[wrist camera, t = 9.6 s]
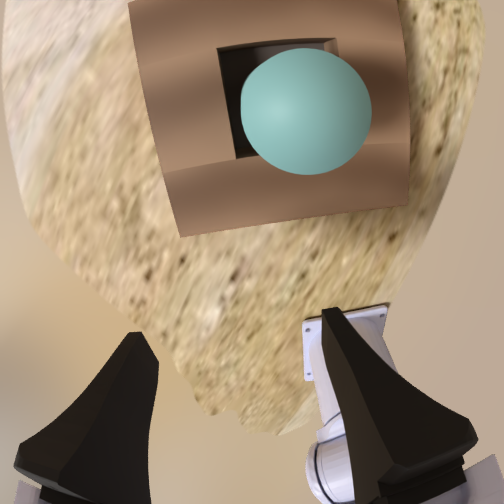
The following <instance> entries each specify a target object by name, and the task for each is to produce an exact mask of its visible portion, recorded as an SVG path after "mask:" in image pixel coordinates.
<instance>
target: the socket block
mask: <svg viewBox="0 0 504 504" xmlns="http://www.w3.org/2000/svg"><path fill="white" fill-rule="evenodd" d="M128 8H129V14H130V21H131V28H132V34H133V40H134V46H135V51H136V57H137V62H138V68H139V73H140V78H141V83H142V88H143V93H144V97H145V102H146V107H147V111H148V116H149V120H150V125H151V129H152V133H153V137H154V142H155V146H156V150H157V154H158V158H159V162H160V166H161V170H162V173H163V177H164V181H165V185H166V188H167V192H168V196H169V199H170V203H171V207H172V210H173V214H174V217H175V221H176V224H177V227H178V231H179V234H180V238H181V237H187V236H193V235H199V234H205V233H211V232H217V231H224V230H230V229H236V228H243V227H249V226H256V225H262V224H269V223H276V222H283V221H290V220H297V219H304V218H311V217H318V216H325V215H333V214H340V213H348V212H355V211H363V210H371V209H379V208H387V207H395V206H404V205H408V191H409V173H410V106H409V88H408V75H407V65H406V55H405V47H404V40H403V33H402V27H401V21H400V15H399V10H398V5H397V0H135V1H132V2H129V3H128ZM299 48H310V49H318V50H322V51H326V52H328V53H331V54H333V55H335V56H337V57H339V58H341V59H342V60H344V61H345V62H347V63H348V64H349V65H350V66H351V67H352V68H353V69H354V70H355V71H356V72H357V73H358V75H359V76H360V77H361V79H362V80H363V82H364V84H365V86H366V88H367V90H368V93H369V97H370V101H371V108H372V117H371V125H370V129H369V132H368V135H367V138H366V139H365V141H364V143H363V145H362V146H361V148H360V149H359V151H358V152H357V153H356V154H355V155H354V156H353V157H352V158H351V159H350V160H349V161H347V162H346V163H345V164H343V165H342V166H340V167H338V168H336V169H334V170H331V171H328V172H325V173H321V174H314V175H301V174H294V173H290V172H286V171H284V170H281V169H279V168H277V167H275V166H273V165H271V164H270V163H269V162H267V161H266V160H264V159H263V158H262V157H261V156H260V155H259V154H258V153H257V152H256V150H255V149H254V148H253V147H252V145H251V143H250V142H249V140H248V138H247V136H246V134H245V131H244V128H243V125H242V119H241V91H242V87H243V84H244V81H245V80H246V78H247V76H248V75H249V74H250V73H251V72H252V71H253V70H254V69H255V68H257V67H258V66H260V65H261V64H262V63H264V62H265V61H267V60H268V59H270V58H271V57H273V56H275V55H277V54H279V53H281V52H284V51H288V50H292V49H299Z"/></svg>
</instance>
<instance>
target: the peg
mask: <svg viewBox="0 0 504 504" xmlns="http://www.w3.org/2000/svg"><path fill="white" fill-rule="evenodd" d="M371 117H372V108H371V101H370V97H369V93H368V90H367V88H366V86H365V84H364V82H363V80H362V79H361V77H360V76H359V75H358V73H357V72H356V71H355V70H354V69H353V68H352V67H351V66H350V65H349V64H348V63H347V62H345V61H344V60H342V59H341V58H339V57H337V56H335V55H333V54H331V53H328V52H326V51H322V50H318V49H310V48H299V49H292V50H288V51H284V52H281V53H279V54H277V55H275V56H273V57H271V58H270V59H268V60H267V61H265V62H264V63H262V64H261V65H260V66H258V67H257V68H255V69H254V70H253V71H252V72H251V73H250V74H249V75H248V76H247V78H246V80H245V81H244V84H243V87H242V91H241V119H242V125H243V128H244V131H245V134H246V136H247V138H248V140H249V142H250V143H251V145H252V147H253V148H254V149H255V150H256V152H257V153H258V154H259V155H260V156H261V157H262V158H263V159H264V160H266V161H267V162H269V163H270V164H271V165H273V166H275V167H277V168H279V169H281V170H284V171H286V172H290V173H294V174H301V175H314V174H321V173H325V172H328V171H331V170H334V169H336V168H338V167H340V166H342V165H343V164H345V163H346V162H347V161H349V160H350V159H351V158H352V157H353V156H354V155H355V154H356V153H357V152H358V151H359V149H360V148H361V146H362V145H363V143H364V141H365V139H366V138H367V135H368V132H369V129H370V125H371Z"/></svg>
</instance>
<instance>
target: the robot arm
mask: <svg viewBox="0 0 504 504" xmlns="http://www.w3.org/2000/svg"><path fill="white" fill-rule="evenodd" d="M387 311H388V309H387V307H386V306H385V305H381V306H376V307H372V308H367V309H362V310H357V311H352V312H347V313H342V311H341V310H340V308H338V307H333V308H328V309H322V317H320V318H314V319H308V320H305V321H303V323H302V336H303V357H304V379H305V380H306V381H313V380H314V383H315V388H316V392H317V397H318V402H319V407H320V412H321V417H322V422H323V428H321V429H319V430H317V431H316V433H317V438H318V441H317V442H315V443H313V444H312V445H311V447H310V449H309V452H308V455H307V458H306V476H307V480H308V483H309V486H310V488H311V490H312V492H313V494H314V495H315V496H316V497H317V499H318V500H320V501H321V502H322V503H323V504H504V479H503V476H502V473H501V470H500V468H499V465H498V462H497V459H496V457H495V454H492V455H490V456H489V457H487V458H485V459H484V460H482V461H480V462H478V463H477V464H475V465H473V466H471V467H469V468H468V469H466V470H464V471H463V468H462V465H463V464H464V459H463V455H464V454H465V453H466V452H467V451H469V450H470V449H471V448H472V447H473V446H475V444H476V443H477V441H478V437H477V434H476V432H475V430H474V428H473V426H472V424H471V422H470V421H469V419H468V418H466V417H464V416H462V415H460V414H458V413H456V412H454V411H452V410H450V409H448V408H446V407H445V406H443V405H441V404H440V403H438V402H436V401H434V400H433V399H432V398H430V397H428V396H427V395H426V394H424V393H423V392H421V391H420V390H418V389H417V388H416V387H414V386H412V384H410V383H409V382H407V381H406V380H405V379H404V378H403V377H401V376H400V375H399V374H398V372H397V370H396V367H395V365H394V362H393V360H392V358H391V355H390V353H389V351H388V349H387V346H386V344H385V342H384V340H383V337H382V335H383V330H384V326H385V321H386V316H387ZM307 328H309V329H307ZM158 371H159V361H158V360H157V358H156V356H155V355H154V353H153V351H152V350H151V348H150V346H149V344H148V343H147V341H146V339H145V337H144V335H143V334H142V332H129V333H128V334H127V335H126V337H125V338H124V339H123V340H122V342H121V343H120V345H119V346H118V348H117V349H116V350H115V351H114V353H113V354H112V356H111V357H110V358H109V360H108V361H107V362H106V364H105V365H104V366H103V368H102V369H101V370H100V372H99V373H98V374H97V375H96V377H95V378H94V379H93V380H92V382H91V383H90V384H89V385H88V387H87V388H86V389H85V390H84V391H83V393H82V394H81V395H80V396H79V397H78V398H77V399H76V400H75V401H74V402H73V403H72V404H71V405H70V406H69V407H68V408H67V409H66V410H65V411H64V412H63V413H62V414H61V415H60V416H58V417H57V418H56V419H55V420H54V421H53V422H52V423H50V424H49V425H48V426H46V427H45V428H44V429H42V430H41V431H40V432H38V433H37V434H35V435H34V436H32V437H30V438H29V439H27V440H25V441H24V442H23V443H20V445H19V448H18V452H17V455H16V459H15V462H14V468H15V469H16V470H17V471H18V472H20V473H22V474H23V475H25V476H27V477H28V478H30V479H32V480H34V481H35V482H37V483H39V484H41V485H42V488H41V489H39V488H37V487H34V486H32V485H30V484H28V483H26V482H23V481H21V480H19V482H18V487H17V492H16V496H15V501H14V504H151V497H150V489H149V475H148V440H149V429H150V422H151V417H152V412H153V406H154V401H155V396H156V390H157V384H158Z"/></svg>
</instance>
